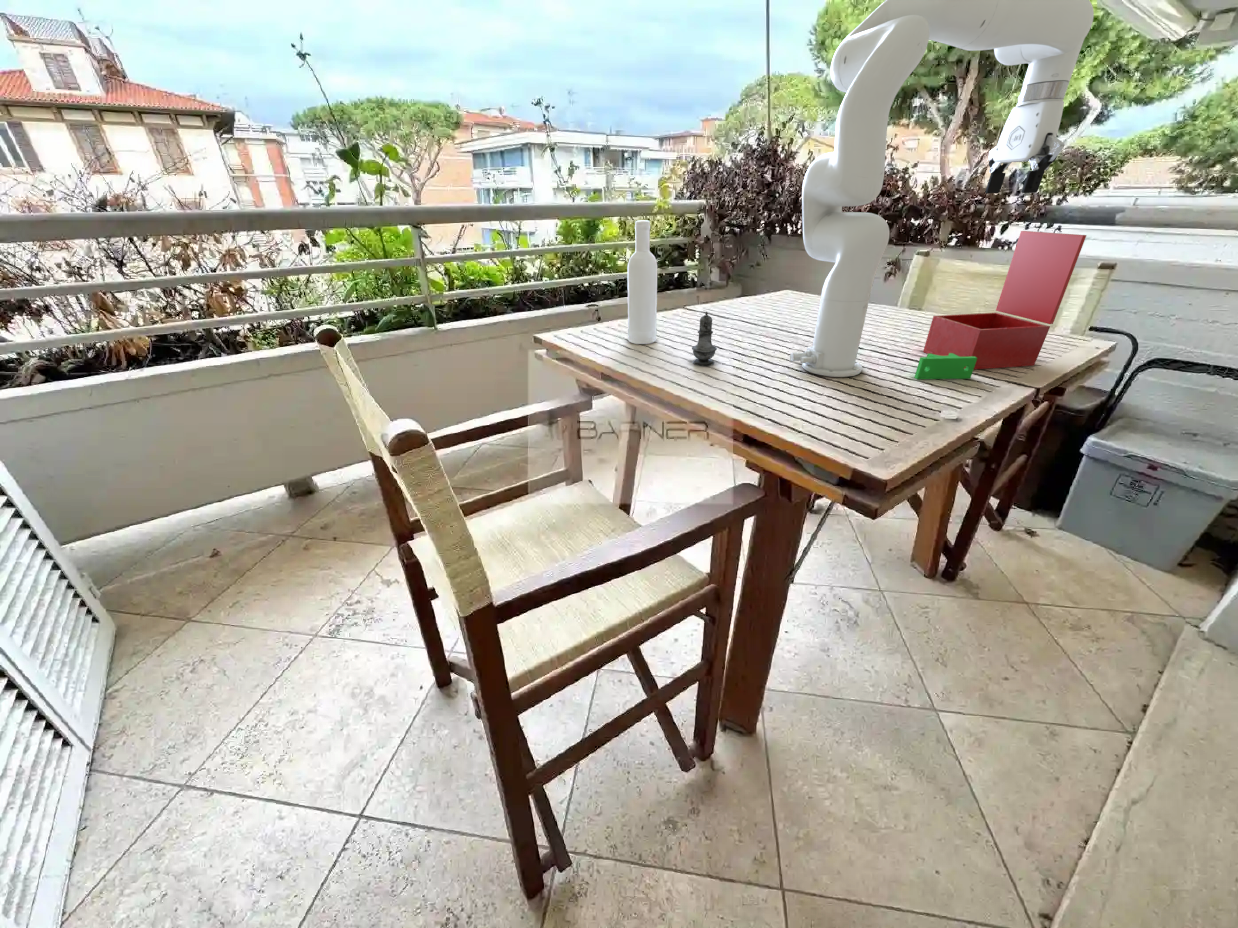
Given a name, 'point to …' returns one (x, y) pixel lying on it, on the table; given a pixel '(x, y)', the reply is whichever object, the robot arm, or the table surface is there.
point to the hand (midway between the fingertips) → (1009, 193)
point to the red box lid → (1039, 274)
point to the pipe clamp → (945, 367)
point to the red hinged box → (987, 339)
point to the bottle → (642, 288)
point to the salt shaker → (704, 343)
